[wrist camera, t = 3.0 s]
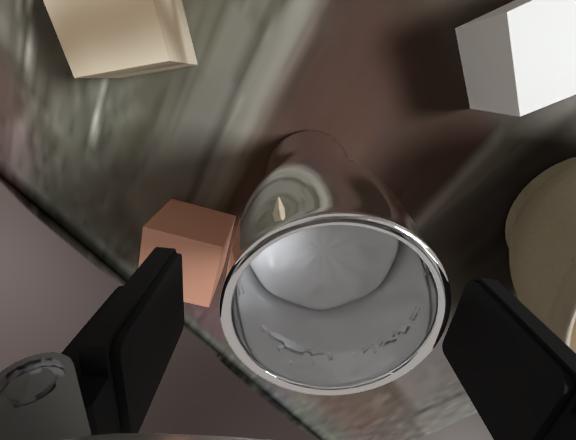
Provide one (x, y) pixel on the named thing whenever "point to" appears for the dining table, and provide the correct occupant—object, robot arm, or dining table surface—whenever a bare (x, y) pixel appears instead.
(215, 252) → the rust block
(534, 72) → the cream block
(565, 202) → the planter bowl
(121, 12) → the beech block
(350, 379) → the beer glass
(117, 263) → the dining table surface
